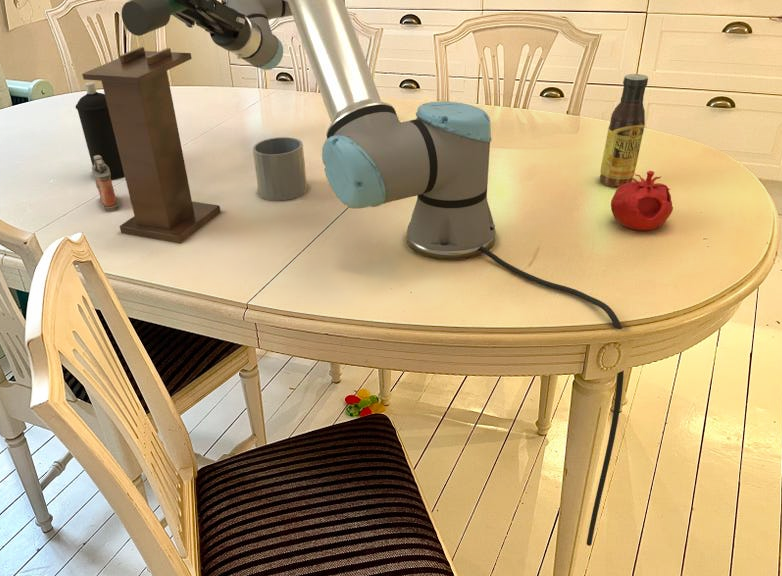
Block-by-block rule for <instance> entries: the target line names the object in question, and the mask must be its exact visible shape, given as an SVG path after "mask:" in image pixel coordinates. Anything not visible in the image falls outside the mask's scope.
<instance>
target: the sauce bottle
mask: <svg viewBox="0 0 782 576" xmlns="http://www.w3.org/2000/svg"><path fill="white" fill-rule="evenodd" d="M648 82H649V77H648V75H645V74H640V73H629V74H626V75H625V76H624V77H623V81H622V84H623V88H622V93H621V97H620V102H619V103H617V105H616V107H615V108H614V110H613V111H612V113H611V115H610V121H609V126H608V128H607V133H606V139H605V144H604V149H603V155H602V160H601V164H600V165H601V166H600V171H599V172H600V174H599V181H600V182H601V183H602V184H603V185H605V186H610V187H615V188H616V187H617V188H618V187H619V186H621V185H623V184H626V183H632V182H633V180H630V181H626V180H628V179H631V178H634V176H635V174H636V168H637V164H638V159H639V154H640V151H641V145H642V140H643V135H644V131H645V127H646V117H645V116H646V112H645V107H644V97H645V92H646V91H645V90H646V87H647V86H648Z"/></svg>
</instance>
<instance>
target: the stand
mask: <svg viewBox="0 0 782 576" xmlns="http://www.w3.org/2000/svg"><path fill="white" fill-rule="evenodd" d="M118 56H119V58H116V59H114V60H111V61H109V62H106V63H104V64H102V65H99V66H97V67H94V68H93V69H89V70H87V71H85V72H83V73H82V74H81V75H82V79H83V80H85V81H97V82H98V81H100V82H101V84H102V89H103V94H105V97H106V102H107V106H108V110H109V114H110V118H111V122H112V126H113V130H114V134H115V138H116V142H117V147H118V151H119V155H120V159H121V163H122V167H123V171H124V175H125V176H124V179H125V183H126V187H127V191H128V195H129V200H130V203H131V208H132V212H133V215H134V216H132V217H131V218H129V219H128V220H126V221H124V222H123V223H122V224H120V225H119V231H120V233H121V234H124V235H129V236H136V237H140V238H147V239H152V240H153V239H154V240H158V241H164V242H170V243H177V244H181V243H183V242H184V241H185V240H187V239H188V238H189V237H191V236H192V235H193V234H195V233H196V232H197V231H198V230H200V229H201V228H202V227H203V226H205V225H207V223H208V222H210V221H211V220H213V219H214V218H215V217H217V216H218V215H219V214H221V212H222V211H221V207H220V205H219V204H212V203H207V202H206V203H205V202H200V201H193V200H192V195H191V189H190V183H189V179H188V173H187V169H186V164H185V158H184V153H183V147H182V142H181V138H180V132H179V126H178V121H177V115H176V110H175V105H174V100H173V96H172V95H173V94H172V91H171V85H170V81H169V74H168V71H169V70H171V69H174V68H175V67H178V66H179V65H182V64H185V63H186V62H189V61H190V60H192V59H193V58H192V53H191V52H177V51H176V52H175V51H173V52H172V51H171V48H170V47H166V48H164V49H161V50H159V51H156V50H155V51H152V50H146V49H145V47H144V46H140V47H137V48H134V49H132V50H129V51H127V52H125V53H123V54H120V55H118Z"/></svg>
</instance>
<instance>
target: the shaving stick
mask: <svg viewBox="0 0 782 576" xmlns="http://www.w3.org/2000/svg"><path fill="white" fill-rule="evenodd" d="M186 9H188V8H187V7H185V6H183V5H182V4H180V3H178V2H177V1H175V0H129V1H127V2H125V3H124V4H123V6H122V7H121V20H122V24H123V25H124V27H125V29H126V30H127V31H128V32H129V33H130V34H132V35H134V36H136V37H140V36H144V35H145V34H148V33H152V32H153V31H156V30H159V29H161V28H164V27H165V26H167V25H168V23H170V20H171V16H173V14H176V13H178V12H181V11H184V10H186Z"/></svg>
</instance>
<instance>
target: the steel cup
mask: <svg viewBox="0 0 782 576" xmlns="http://www.w3.org/2000/svg"><path fill="white" fill-rule="evenodd" d="M252 155H253V161H254V162H253V163H254V168H255V177H256V183H257V190H258V195H259V197H261V198H263V199H265V200H268V201H277V202H278V201H288V200H292V199H296V198H298V197H301V196H303V195H304V194H305V193H306V192H307V189H308V187H307V186H308V185H307V184H308V183H307V174H306V163H305V162H306V161H305V152H304V143H303V141H302V140H301V139H299V138H295V137H289V136H279V137H277V136H276V137H271V138H270V137H269V138H266V139H263V140H260V141H259V142H256V143H255V144H254V145H253V147H252Z"/></svg>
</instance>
